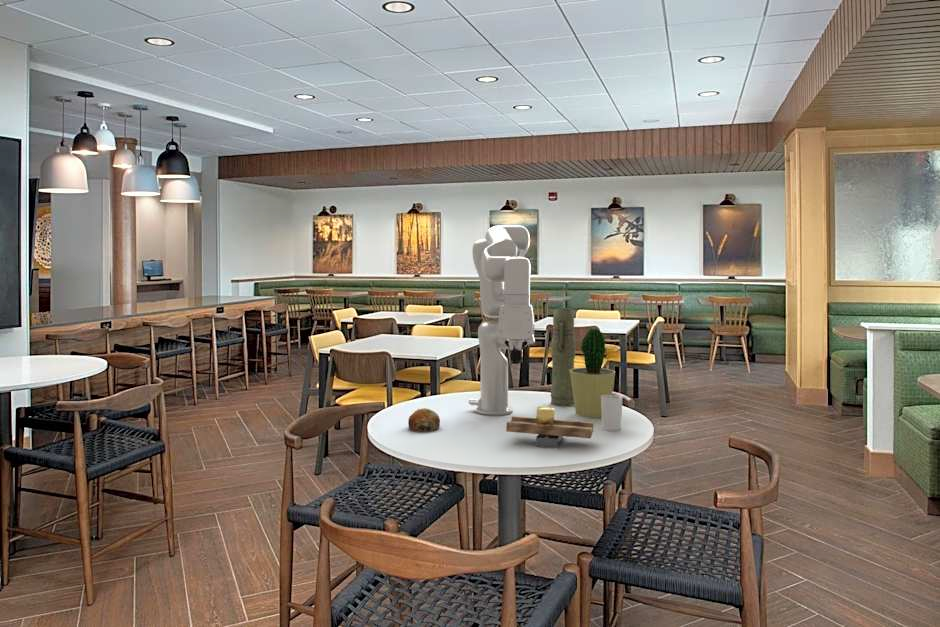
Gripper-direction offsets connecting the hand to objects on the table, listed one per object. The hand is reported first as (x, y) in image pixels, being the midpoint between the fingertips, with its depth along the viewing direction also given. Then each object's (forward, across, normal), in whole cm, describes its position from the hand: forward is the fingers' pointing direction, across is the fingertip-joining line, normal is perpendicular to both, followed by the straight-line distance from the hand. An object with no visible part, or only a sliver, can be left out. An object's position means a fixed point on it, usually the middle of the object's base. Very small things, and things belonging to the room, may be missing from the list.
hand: (516, 363), depth 207 cm
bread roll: (+23, -31, +7) cm, 39 cm away
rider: (+18, +9, -1) cm, 20 cm away
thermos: (+23, +6, +57) cm, 62 cm away
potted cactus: (+23, +18, +42) cm, 51 cm away
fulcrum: (+23, +10, 0) cm, 25 cm away
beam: (+19, +10, 0) cm, 21 cm away
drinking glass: (+23, +26, +22) cm, 41 cm away
